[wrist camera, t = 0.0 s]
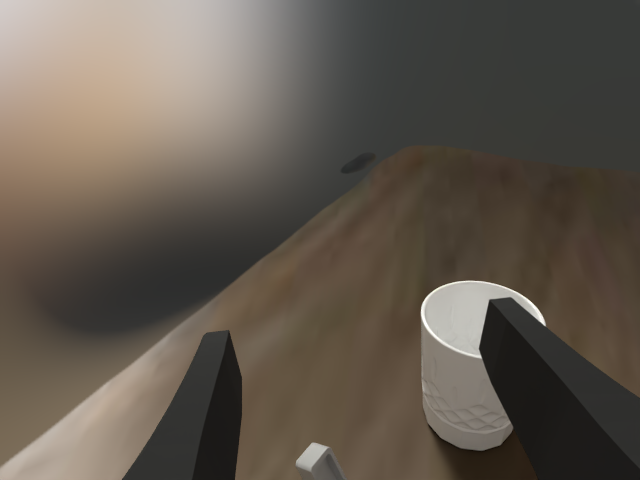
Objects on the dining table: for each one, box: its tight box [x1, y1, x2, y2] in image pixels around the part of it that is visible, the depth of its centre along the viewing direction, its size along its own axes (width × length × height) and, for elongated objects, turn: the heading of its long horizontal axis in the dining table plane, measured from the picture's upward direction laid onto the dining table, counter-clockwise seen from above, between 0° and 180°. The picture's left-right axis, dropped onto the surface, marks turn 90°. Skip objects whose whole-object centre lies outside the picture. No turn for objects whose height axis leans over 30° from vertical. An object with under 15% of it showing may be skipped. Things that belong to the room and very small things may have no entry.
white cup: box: [421, 281, 546, 451], centre depth 33 cm, size 8×8×10 cm
